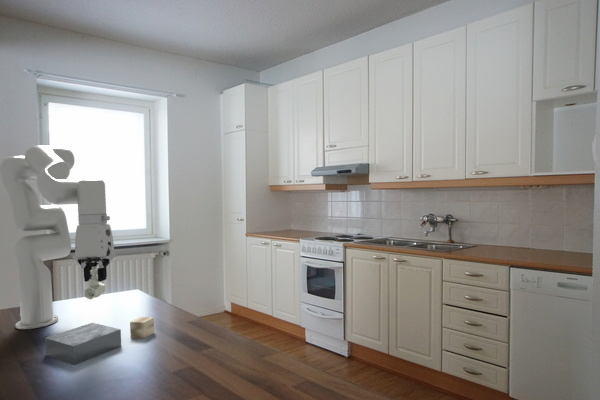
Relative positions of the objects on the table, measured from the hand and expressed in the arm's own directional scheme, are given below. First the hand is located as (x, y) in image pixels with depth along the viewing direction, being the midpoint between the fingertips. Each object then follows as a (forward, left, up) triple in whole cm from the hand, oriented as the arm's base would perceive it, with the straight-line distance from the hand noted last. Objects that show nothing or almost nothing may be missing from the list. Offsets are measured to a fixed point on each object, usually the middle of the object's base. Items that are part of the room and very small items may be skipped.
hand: (95, 279), depth 118 cm
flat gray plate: (+2, -5, -19) cm, 20 cm away
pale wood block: (+7, +11, -19) cm, 23 cm away
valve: (0, 0, -5) cm, 5 cm away
